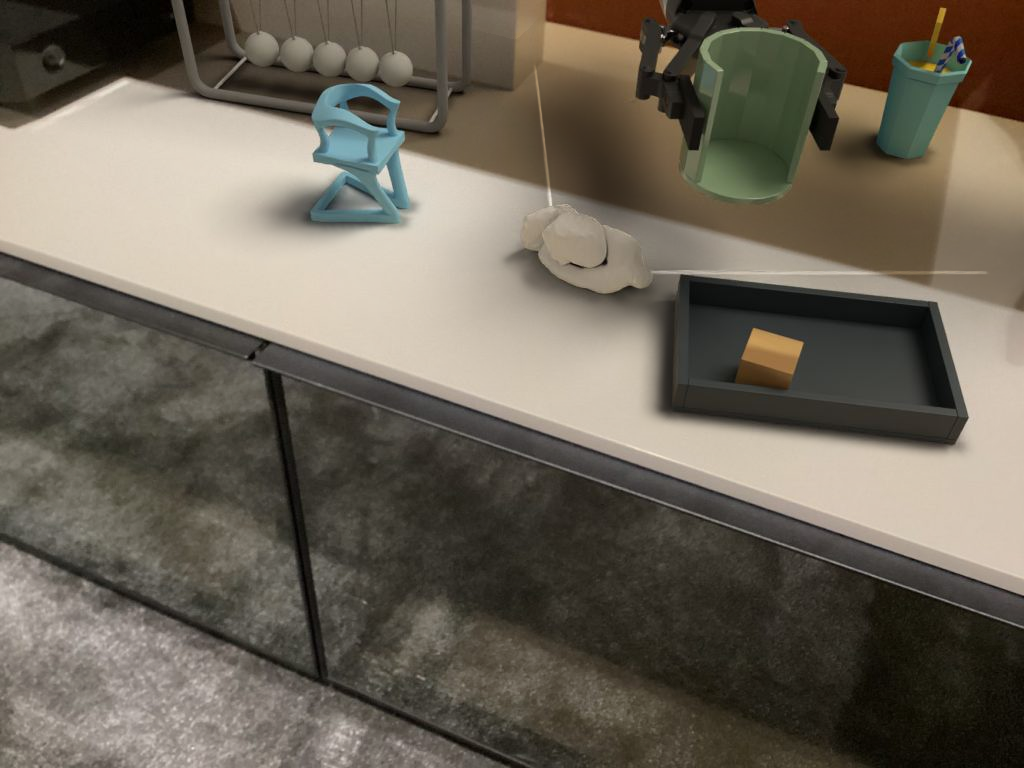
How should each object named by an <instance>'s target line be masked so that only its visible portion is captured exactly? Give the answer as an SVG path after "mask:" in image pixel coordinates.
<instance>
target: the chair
mask: <svg viewBox="0 0 1024 768" xmlns="http://www.w3.org/2000/svg"><path fill="white" fill-rule="evenodd" d="M359 97H368V98H371V99H373V100H375V101H377V102H379V103H380V104H381V105H383V106H385V107H386V108H387V109H388V110H389V112H388V114H387V116H388V119H387V126H386V127H377V126H374V125H372V124H370V123H366V122H365V121H363V120H362V119H360V118H359V117H357V116H356V115H354V114H352V113H351V112H349V110H350V109H349V106H348V102H347V101H349V100H351V99H354V98H359ZM315 104H316V105H315V108H314V110H313V113H312V114H311V121H312V123H313V126H314V128H315V130H316V132H317V133H318V136H319V140H320V141H319V145H318V146H317V147H316V148H315V150H314V151H313V152H312V154H311V155H312V161H313V162H312V163H317V164H322V165H329V166H333V167H335V168H338V169H340V170H343V171H341V172H340V173H339V174H338V175H337V177H336V178H335V180H334V181H333V182H332V184H330V185H329V187H328V188H327V189H326V191H325V192H324V193H323V195H322V196H321V197H320V199H319V200H318V201H317V202H316V204H315V205H314V206H313V207H312V208H311V209H310V212H309V213H310V219H311V221H313V222H321V223H382V224H384V223H385V224H399V223H401V221H402V218H401V213H400V211H399V209H402V210H409V209H410V208H411V201H410V197H409V192H408V189H407V188H408V187H407V184H406V180H405V177H404V173H403V169H402V163H401V158H400V151H399V150H400V147H401V146H402V145H403V143H405V141H406V135H405V133H406V132H405V131H406V130H405V131H404V130H398V128H396V125H395V119H396V117H397V113H398V110H399V107H400V104H401V100H399V99H396V98H393V97H392V96H391V95H389V94H387V93H386V92H385V91H383V90H382V89H381V88H379V87H377V86H375V85H373V84H370V83H344V84H337V85H333V86H330V87H328V88H326V89H324V90H323V91H322V93H321V94H320V96H319V98H318V99H317V101H316V103H315ZM337 105H339V107H337ZM333 126H335V127H334V128H333V129H332V131H330V133H329V134H328V132H327V130H326V129H325V128H327V127H333ZM385 167H386V168H387V171H388V175H389V179H390V184H391V187H392V190H390V189H388V188H387V187H386V188H385V187H384V186H381V184H380V182H379V180H378V178H377V175H378V176H379V175H380V174H381V173H382V171H383V170H384V168H385ZM345 184H348V185H351V186H352V187H355V188H357V189H359V190H361V191H363V192H365V193H367V194H369V195H370V196H372V197H373V198H374V199H375V200H376V202H377V203H378V205H379V206H380V207H381V208H366V209H365V208H363V209H361V208H359V209H327V208H328V206H329V204H330V203H331V202H332V200H333V199H334V198H335V197H336V195H337V194H338V193H339V191H340V190H341V189H342V188H343V186H344V185H345ZM398 208H399V209H398Z"/></svg>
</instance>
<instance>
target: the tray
mask: <svg viewBox="0 0 1024 768" xmlns="http://www.w3.org/2000/svg"><path fill="white" fill-rule="evenodd" d="M673 319H674V323H673V325H674V326H673V353H672V354H673V355H672V356H673V357H672V359H673V360H672V365H673V366H672V389H671V390H672V393H671V411H673V412H680V413H688V414H697V415H706V416H713V417H722V418H732V419H738V420H748V421H755V422H764V423H772V424H780V425H788V426H798V427H805V428H812V429H813V428H814V429H823V430H831V431H837V432H838V431H839V432H847V433H856V434H864V435H872V436H881V437H889V438H897V439H906V440H915V441H923V442H931V443H939V444H947V445H956V443H957V441H958V439H959V437H960V435H961V434H962V432H963V430H964V428H965V426H966V425H967V422H968V420H969V419H970V416H969V413H968V409H967V405H966V402H965V398H964V394H963V391H962V388H961V387H962V386H961V384H960V380H959V377H958V373H957V369H956V366H955V365H956V364H955V361H954V358H953V354H952V351H951V347H950V344H949V340H948V335H947V333H946V329H945V325H944V322H943V318H942V315H941V311H940V307H939V304H938V302H937V301H933V300H932V301H931V300H923V299H922V300H921V299H913V298H903V297H896V296H885V295H875V294H868V293H859V292H858V293H857V292H849V291H838V290H829V289H822V288H821V289H820V288H811V287H803V286H793V285H786V284H785V285H783V284H774V283H765V282H757V281H749V280H748V281H747V280H737V279H728V278H719V277H710V276H700V275H691V274H682V273H680V274H679V278H678V284H677V288H676V295H675V300H674V318H673ZM753 328H756V329H759V330H763V331H766V332H770V333H773V334H776V335H780V336H783V337H787V338H790V339H794V340H797V341H801V342H804V344H803V347H802V350H801V353H800V356H799V359H798V362H797V365H796V368H795V371H794V374H793V377H792V380H791V383H790V386H789V389H788V390H787V389H779V388H770V387H761V386H753V385H744V384H736V383H735V379H736V376H737V372H738V368H739V365H740V361H741V358H742V355H743V353H744V350H745V348H746V345H747V342H748V340H749V337H750V335H751V332H752V330H753Z"/></svg>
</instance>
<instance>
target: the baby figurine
mask: <svg viewBox="0 0 1024 768" xmlns="http://www.w3.org/2000/svg"><path fill="white" fill-rule="evenodd" d="M523 223H524V224H523V225H522V227H521V228H520V230H519V232H520V241H521V243H522V244H523V245H524V247H525V248H526V249H527V250H530V251H532V252H533V251H534V252H538V255H537V256H538V260H539V261H540V262H541V264H542V265H543V266H545V268H546V269H548V271H549V272H550V273H551V274H552V275H554V276H555V277H556V278H557V279H560V280H562V281H564V282H566V283H567V284H570V285H572V286H575V287H577V288H581V289H587V290H590V291H592V292H595V293H597V294H603V295H605V294H606V295H607V294H613V293H616V292H618V291H621V290H623V289H624V288H626V287H628V286H632V287H634V288H636V289H645V288H648V287H649V286H650V284H651V283H652V282H653V272H652V270H650V268H649V267H647V266H646V265H645V263H644V258H643V249H642V246H641V245H640V244H639V242H638V241H637V240H636V239H635V238H634V237H633V236H632V235H630V234H628V233H626V232H624V231H622V230H621V229H617V228H615V227H611V226H609V225H605V224H603V225H601V223H600V222H599V221H598V220H597V219H596V218H594V217H593V216H591V215H589V214H585V213H581V212H580V213H579V211H577V210H576V209H575V208H574V207H572V206H571V205H570V204H567V203H563V204H556V205H555V206H553V205H551V206H550V205H549V206H546V207H544V208H542V209H539V210H537V211H536V212H533V213H530V214H527V215H525V216H524V217H523ZM605 260H606V262H607V263H606V264H603V262H604V261H605ZM571 263H572V264H571ZM574 264H575V265H574ZM577 265H578V266H577ZM579 266H580V267H579Z"/></svg>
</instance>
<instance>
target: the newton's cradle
mask: <svg viewBox="0 0 1024 768" xmlns="http://www.w3.org/2000/svg"><path fill="white" fill-rule="evenodd" d="M261 1H262V0H258V7H259V27H260V29H259V27H258V23H257V18H256V14H255V10H254V6H253V2H252V0H249V3H250V8H251V12H252V16H253V20H254V24H255V28H256V32H253V33H251V34H250V35H249V36H248V37H247V38H246V40H245V43H244V49H243V48H241V46H240V45H239V44H238V42H237V39H236V33H235V28H234V23H233V17H232V11H231V6H230V0H218V5H219V11H220V15H221V21H222V27H223V32H224V38H225V42H226V45H227V48H228V49H229V50H230V52H231V53H232V54H233V55H234V56H235V57H236V58H238V59H240V60H239V61H238V63H237V64H236V65H235V66H233V67H232V68H231V69H230V71H228V72H227V74H225V75H224V77H222V79H220V80H219V82H218V83H216V85H215V86H214V87H210V86H208V85H206V84H205V83H204V82H203V81H202V80H201V79H200V76H199V72H198V67H197V62H196V58H195V53H194V49H193V48H194V47H193V43H192V39H191V34H190V30H189V24H188V20H187V15H186V10H185V6H184V1H183V0H170V2H171V7H172V11H173V15H174V19H175V20H174V21H175V25H176V29H177V33H178V38H179V42H180V47H181V50H182V52H181V53H182V56H183V61H184V65H185V69H186V75H187V78H188V81H189V84H190V85H191V86H192V88H193V89H194V90H195V91H196V92H197V93H198V94H200V96H203V97H205V98H207V99H208V98H209V99H213V100H220V101H224V102H232V103H233V102H234V103H238V104H244V105H250V106H257V107H263V108H271V109H275V110H282V111H289V112H296V113H301V114H307V115H312V113H313V110H314V108H315V105H316V103H312V102H311V103H309V102H303V101H297V100H292V99H291V100H290V99H285V98H278V97H272V96H265V95H259V94H253V93H248V92H247V93H246V92H241V91H233V90H228V89H221V87H222V85H224V83H225V82H226V81H227V80H228V79H229V78H231V76H232V75H233V74H234V73H235V72H236V71H237V70H238V69H239V68H240V67H241V66H243V64H244V63H245V62H250V63H252V64H253V65H255V66H256V67H259V68H260V67H261V68H267V67H270V66H274V67H282V68H286V69H287V70H289V71H291V72H294V73H303V72H306V71H309V72H316V73H319V74H320V75H321V76H323V77H327V78H334V77H338V76H342V77H349V78H352V79H353V80H354V81H356V82H359V83H367V82H371V81H375V82H381V83H385V84H386V85H387V86H389V87H393V88H400V87H403V86H409V87H414V88H421V89H427V90H436V95H437V97H436V99H437V101H436V102H437V104H436V105H437V107H436V109H435V111H434V112H433V114H432V116H431V117H430V119H429V120H428V121H424V120H420V119H419V120H418V119H414V118H413V119H412V118H406V117H399V116H396V119H395V125H396V129H401V130H402V129H403V130H409V131H414V132H421V133H430V134H432V133H436V132H439V131H441V130H442V129H443V128H445V126H446V125H447V123H448V119H449V97H450V95H451V94H452V93H459V92H462V91H464V90H466V89H467V88H468V87H469V86H470V84H471V82H472V79H473V0H461V77H460V79H459V80H458V81H449V80H448V79H449V77H448V76H449V75H448V25H447V24H448V23H447V22H448V21H447V18H448V17H447V0H434V24H435V26H434V27H435V31H434V32H435V61H436V62H435V64H436V68H435V69H436V79H435V78H428V77H421V76H414V75H413V72H414V71H413V70H414V67H413V63H412V60H411V59H410V58H409V57H408V56H407V54H405V53H403V52H401V51H397V49H398V48H397V45H398V43H397V42H398V41H397V38H398V37H397V36H398V33H397V31H398V28H397V27H398V21H397V20H398V0H395V1H394V4H395V5H394V39H393V34H392V26H391V20H390V19H391V18H390V12H389V5H388V0H385V6H386V14H387V22H388V29H389V36H390V43H391V50H392V51H389V52H387V53H385V54H384V55H383V56H382V57H381V58H380V59H379V56H378V54H377V53H376V52H375V51H374V50H373V49H372V48H370V47H368V46H364V18H363V17H364V13H363V11H364V10H363V9H364V7H363V0H360V23H361V24H360V27H361V28H360V30H361V31H360V33H361V35H359V31H358V24H357V19H356V12H355V6H354V1H353V0H350V3H351V10H352V15H353V20H354V27H355V32H356V37H357V44H358V46H356V47H354V48H352V49H350V51H349V52H348V53H346V51H345V50H344V48H343V47H342V46H341V45H339V43H337V42H333V41H331V31H330V1H329V0H326V5H327V7H326V8H327V9H326V10H327V35H328V36H327V35H326V30H325V29H326V28H325V25H324V20H323V14H322V10H321V6H320V5H321V4H320V1H319V0H316V2H317V6H318V12H319V17H320V21H321V26H322V31H323V36H324V41H323V42H321V43H320V44H318V45H317V46H316V47H315V48H313V45H312V44H311V43H310V42H309V41H308V40H307V39H305V38H303V37H300V36H298V27H297V26H298V25H297V23H298V22H297V7H296V0H293V8H294V9H293V10H294V12H293V13H294V29H295V30H293V27H292V26H293V25H292V23H291V17H290V14H289V9H288V4H287V1H286V0H283V2H284V6H285V11H286V16H287V19H288V24H289V28H290V31H291V36H292V37H289V38H287V39H286V40H285V41H284V42H283V43H282V44H281V47H279V43H278V41H277V40H276V38H275V37H274V36H273V35H272V34H270V33H268V32H266V31H263V27H262V26H263V25H262V23H263V22H262V2H261ZM294 31H295V32H294ZM294 33H295V35H294ZM359 36H361V42H360V37H359ZM393 40H394V41H393ZM349 112H351V113H352V114H354V115H356V116H357V117H359V118H360V119H362V120H363V121H365V122H366V123H368V124H370V125H376V126H382V127H387V119H388V114H380V113H375V112H374V113H373V112H367V111H361V110H355V109H349Z"/></svg>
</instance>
